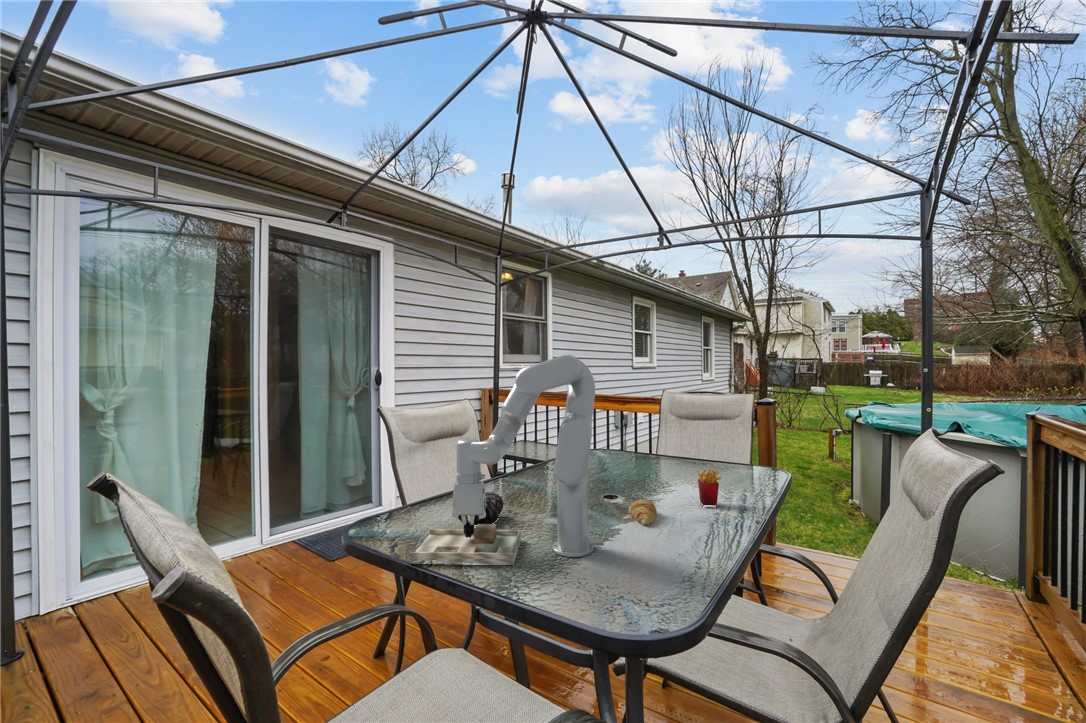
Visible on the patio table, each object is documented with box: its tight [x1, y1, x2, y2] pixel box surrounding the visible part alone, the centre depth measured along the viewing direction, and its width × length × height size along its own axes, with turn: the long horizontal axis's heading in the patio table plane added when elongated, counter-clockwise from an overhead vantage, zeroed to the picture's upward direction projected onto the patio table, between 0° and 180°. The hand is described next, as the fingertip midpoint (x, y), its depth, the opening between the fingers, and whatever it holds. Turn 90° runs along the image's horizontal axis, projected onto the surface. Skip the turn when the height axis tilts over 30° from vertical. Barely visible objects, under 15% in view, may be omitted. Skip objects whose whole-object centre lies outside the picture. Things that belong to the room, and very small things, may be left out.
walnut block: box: [474, 523, 497, 544], centre depth 152 cm, size 6×6×4 cm
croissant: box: [627, 498, 658, 526], centre depth 178 cm, size 21×10×8 cm, turn 175°
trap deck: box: [409, 528, 522, 566], centre depth 148 cm, size 30×19×4 cm, turn 86°
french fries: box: [697, 468, 722, 506], centre depth 189 cm, size 9×8×15 cm
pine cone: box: [469, 491, 505, 525], centre depth 175 cm, size 10×18×10 cm, turn 173°
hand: (469, 535), depth 152 cm, fingers closed
